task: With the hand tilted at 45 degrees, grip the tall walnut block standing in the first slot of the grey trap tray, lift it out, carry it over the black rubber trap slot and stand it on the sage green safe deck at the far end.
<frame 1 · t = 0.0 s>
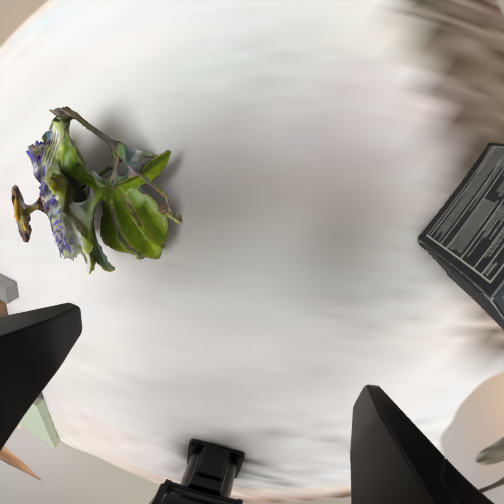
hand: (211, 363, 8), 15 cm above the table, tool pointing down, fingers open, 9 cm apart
passion flower: (123, 181, 23), on the table
trap tray: (12, 363, 34), on the table
small box: (477, 215, 19), on the table
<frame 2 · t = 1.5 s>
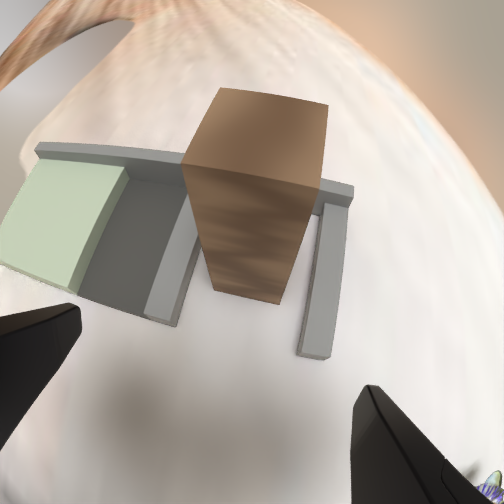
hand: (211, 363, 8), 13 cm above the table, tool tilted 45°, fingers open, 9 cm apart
walnut block: (253, 267, 24), resting in trap tray
trap tray: (142, 242, 25), on the table
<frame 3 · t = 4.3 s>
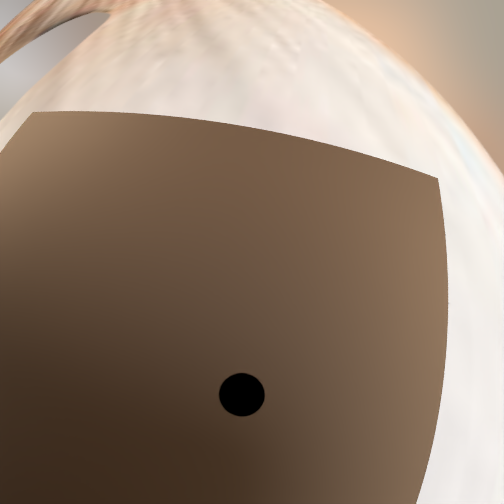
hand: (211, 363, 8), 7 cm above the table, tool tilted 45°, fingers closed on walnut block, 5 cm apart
walnut block: (220, 393, 14), resting in trap tray, touching gripper
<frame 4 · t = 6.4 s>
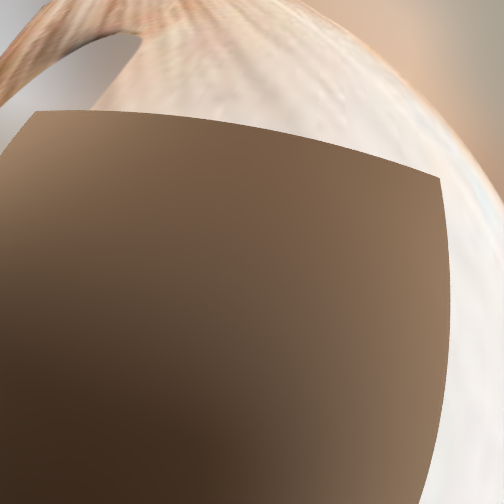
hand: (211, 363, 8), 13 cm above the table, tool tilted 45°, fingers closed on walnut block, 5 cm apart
walnut block: (220, 393, 14), point 6 cm above the table, touching gripper
when the fingers open (10 cm above the table, at t = 8.7 s): walnut block drops 1 cm, resting on trap tray.
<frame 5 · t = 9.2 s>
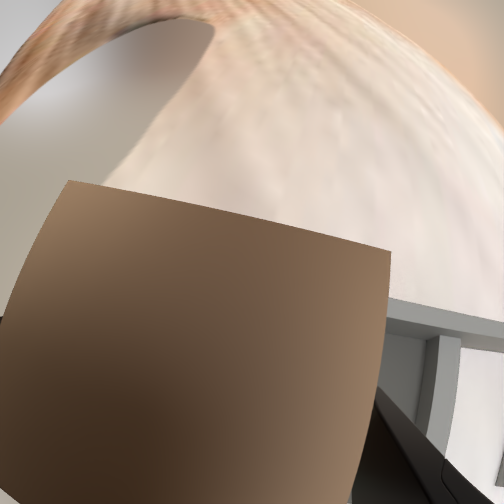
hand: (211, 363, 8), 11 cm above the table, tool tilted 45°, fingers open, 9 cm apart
walnut block: (222, 394, 16), point 2 cm above the table, touching trap tray
trap tray: (376, 420, 17), on the table
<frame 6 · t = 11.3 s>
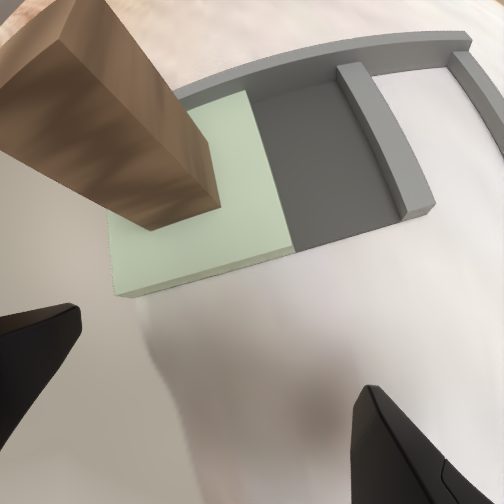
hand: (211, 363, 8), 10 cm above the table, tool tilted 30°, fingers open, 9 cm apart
walnut block: (179, 185, 20), point 2 cm above the table, touching trap tray
trap tray: (327, 152, 20), on the table
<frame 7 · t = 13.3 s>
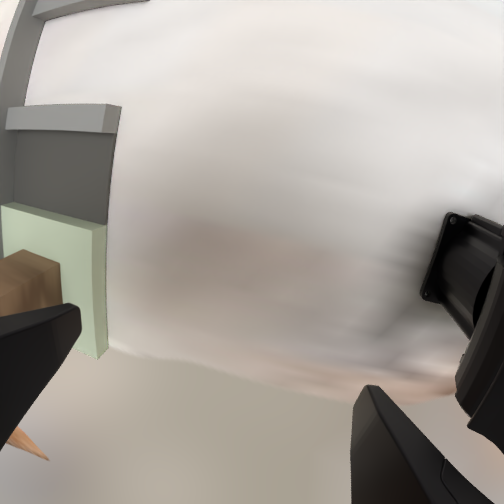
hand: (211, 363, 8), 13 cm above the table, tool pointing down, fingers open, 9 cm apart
walnut block: (42, 281, 23), point 2 cm above the table, touching trap tray
trap tray: (56, 165, 21), on the table
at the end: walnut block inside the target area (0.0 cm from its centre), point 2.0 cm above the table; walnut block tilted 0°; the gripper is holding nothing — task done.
